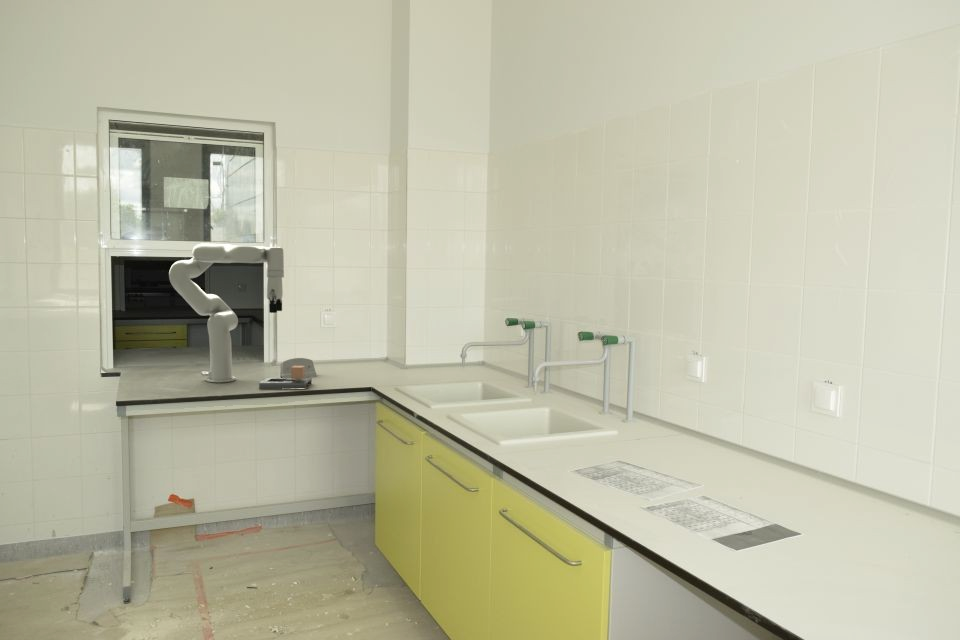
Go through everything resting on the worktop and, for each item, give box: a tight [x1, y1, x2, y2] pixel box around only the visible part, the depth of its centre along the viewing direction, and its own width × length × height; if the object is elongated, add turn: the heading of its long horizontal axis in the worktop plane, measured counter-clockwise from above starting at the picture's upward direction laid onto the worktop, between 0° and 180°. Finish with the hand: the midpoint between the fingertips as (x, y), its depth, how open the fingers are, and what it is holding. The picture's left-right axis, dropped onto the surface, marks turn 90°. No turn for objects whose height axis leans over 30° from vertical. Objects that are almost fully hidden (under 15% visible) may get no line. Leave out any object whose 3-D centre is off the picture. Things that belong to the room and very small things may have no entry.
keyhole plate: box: [258, 377, 313, 390], centre depth 320 cm, size 20×13×3 cm, turn 92°
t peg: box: [291, 366, 306, 381], centre depth 320 cm, size 5×5×9 cm
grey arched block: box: [279, 357, 317, 378], centre depth 346 cm, size 17×5×10 cm, turn 120°
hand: (275, 311), depth 329 cm, fingers open, 9 cm apart
